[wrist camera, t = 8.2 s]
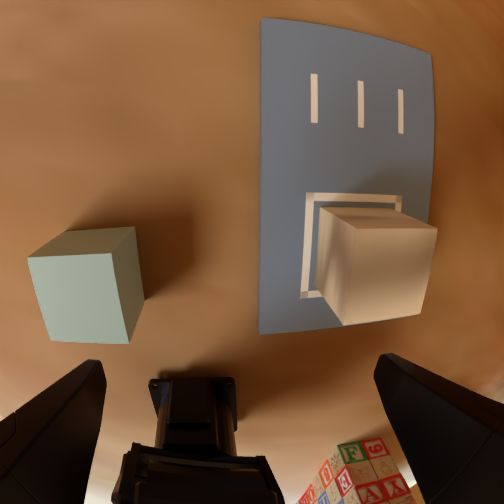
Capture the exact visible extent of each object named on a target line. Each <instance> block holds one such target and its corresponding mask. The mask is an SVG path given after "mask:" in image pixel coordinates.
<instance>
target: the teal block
mask: <svg viewBox="0 0 504 504" xmlns="http://www.w3.org/2000/svg"><path fill="white" fill-rule="evenodd" d="M27 260H28V264H29V269H30V273H31V277H32V281H33V285H34V288H35V292H36V296H37V299H38V303H39V306H40V309H41V313H42V316H43V319H44V322H45V325H46V328H47V331H48V334H49V337H50V339H51V341H63V342H81V343H109V344H129V343H130V340H131V338H132V335H133V332H134V329H135V326H136V323H137V321H138V318H139V315H140V312H141V310H142V307H143V304H144V302H145V298H144V292H143V285H142V278H141V272H140V264H139V257H138V249H137V240H136V231H135V226H133V227H117V228H102V229H89V230H76V231H64V232H63V233H61V234H60V235H59V236H57V237H56V238H54V239H53V240H51V241H50V242H48V243H47V244H45V245H44V246H43V247H41V248H40V249H38V250H37V251H35V252H34V253H33V254H31V255H30V256H29V257H27Z"/></svg>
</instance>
